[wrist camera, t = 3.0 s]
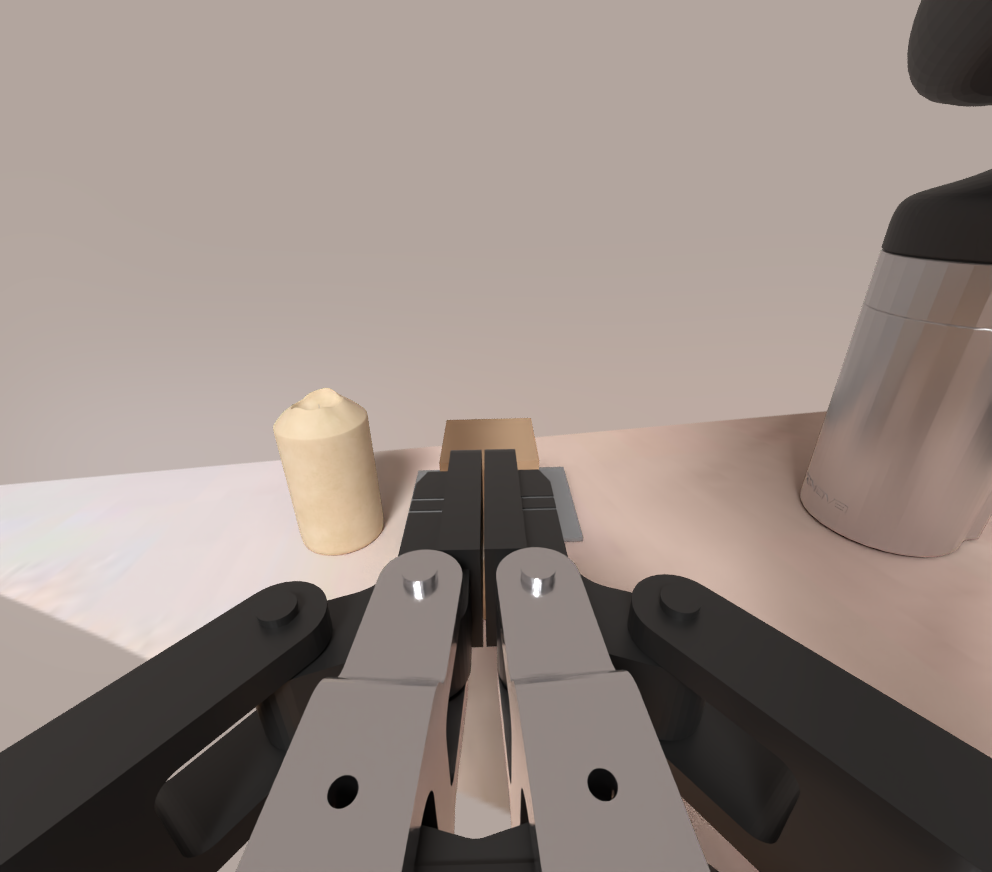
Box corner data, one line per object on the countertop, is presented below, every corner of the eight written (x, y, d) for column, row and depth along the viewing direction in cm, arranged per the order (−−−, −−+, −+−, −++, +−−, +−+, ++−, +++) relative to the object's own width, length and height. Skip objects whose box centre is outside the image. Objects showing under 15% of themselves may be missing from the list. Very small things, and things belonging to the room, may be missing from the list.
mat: (563, 470, 40) (563, 466, 39) (582, 540, 32) (582, 537, 31) (418, 473, 39) (418, 470, 39) (401, 545, 32) (401, 542, 31)
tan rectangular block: (528, 561, 30) (530, 418, 25) (535, 620, 26) (539, 462, 21) (457, 563, 30) (446, 420, 25) (452, 622, 26) (439, 464, 21)
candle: (320, 505, 36) (292, 380, 31) (393, 507, 35) (375, 380, 31) (288, 555, 31) (248, 416, 26) (371, 558, 31) (346, 417, 26)
